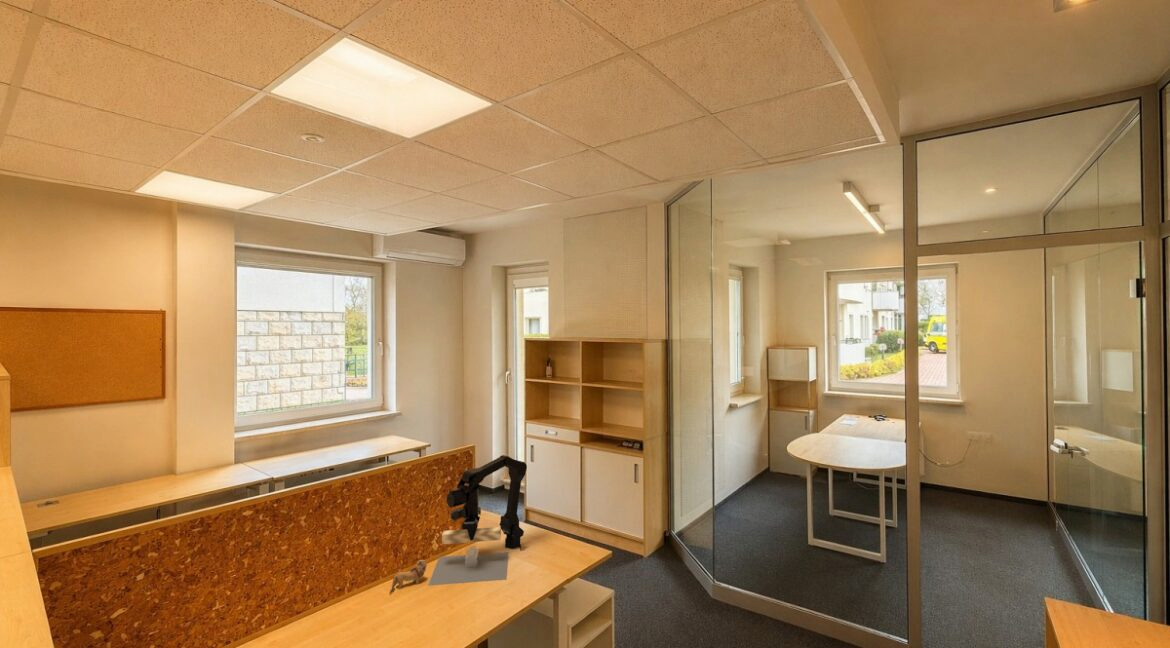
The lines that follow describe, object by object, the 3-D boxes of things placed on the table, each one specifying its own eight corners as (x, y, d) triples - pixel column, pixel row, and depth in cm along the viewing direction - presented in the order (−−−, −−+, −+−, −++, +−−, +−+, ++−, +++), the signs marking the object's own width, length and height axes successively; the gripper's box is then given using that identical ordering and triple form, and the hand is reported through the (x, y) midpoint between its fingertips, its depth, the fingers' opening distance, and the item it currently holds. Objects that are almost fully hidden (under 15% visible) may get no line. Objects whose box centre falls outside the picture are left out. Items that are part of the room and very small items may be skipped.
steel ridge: (479, 558, 216) (478, 545, 216) (477, 566, 208) (477, 554, 208) (467, 558, 215) (467, 546, 215) (465, 567, 207) (464, 554, 207)
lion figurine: (423, 579, 200) (423, 556, 201) (429, 583, 197) (429, 560, 197) (386, 592, 191) (386, 568, 191) (392, 597, 187) (391, 573, 187)
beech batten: (500, 536, 215) (500, 526, 215) (500, 540, 211) (500, 530, 211) (443, 540, 212) (443, 530, 212) (442, 544, 208) (442, 534, 208)
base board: (508, 554, 221) (508, 552, 221) (506, 582, 196) (506, 579, 196) (439, 559, 217) (439, 556, 217) (428, 588, 193) (428, 585, 193)
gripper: (455, 495, 220) (455, 530, 220) (448, 510, 202) (449, 549, 201) (480, 493, 221) (481, 528, 221) (476, 508, 203) (477, 546, 203)
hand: (472, 538), depth 211 cm, fingers closed on beech batten, 4 cm apart
